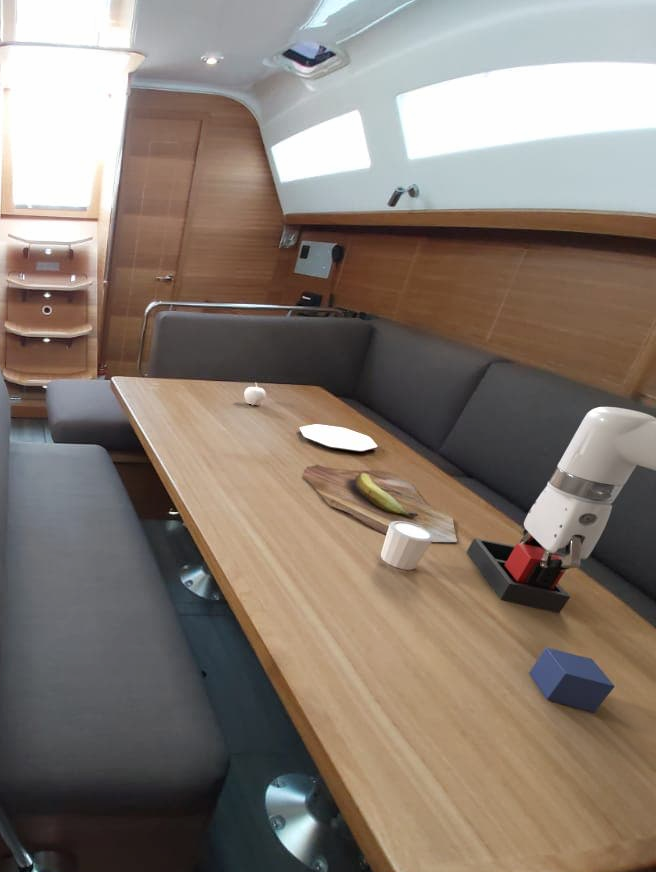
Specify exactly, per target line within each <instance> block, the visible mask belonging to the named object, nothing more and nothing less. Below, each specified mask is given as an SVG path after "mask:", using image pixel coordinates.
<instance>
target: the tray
mask: <svg viewBox="0 0 656 872" xmlns="http://www.w3.org/2000/svg"><path fill="white" fill-rule="evenodd" d="M515 546H516V545H513V544H508V543H503V542H502V543H501V542H497V541H493V540H487V539H482V538H477V537H474V538H473V539H472V541H471V543H470V544H469V547H468V549H467V551H466V553H467V555H468V556H469V558H470V559H471V560H472V562H473V563H474V564H475V566H476V567H477V569H478V570H479V572H480V573H481V574H482V576H483V577H484V579H485V580H486V582H488V584H489V585H490V587H491V588H492V590H493V591H494V592H495V594H496V595H497V596H498V598H499V600H502V601H506V602H509V603H514V604H519V605H524V606H529V607H532V608H538V609H540V610H541V609H542V610H546V611H549V612H553V613H554V612H555V613H561V612H562V610H563V609H564V607H565V606H566V605H567V603H568V601H569V600H570V599H571V595H570V594H569V593H568V592H567V591H566V590H565V589H564V588H563V587H562V586H561V585H560V583H559V582H558V583H557V585H556V586H555V588H554V589H546V588H541V587H537V586H532V585H528V584H527V583H522V582H518V581H516V579H515V578H514V577H513V576H512V574H511V573H510V572H509V571H508V569H507V568H506V567H505V566H504V565H505V563H506V562H507V560H508V558H509V556H510V555H511V553H512V551H513V549H514V548H515Z"/></svg>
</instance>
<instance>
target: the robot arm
mask: <svg viewBox="0 0 656 872" xmlns="http://www.w3.org/2000/svg"><path fill="white" fill-rule="evenodd" d="M637 466H640V467H643V468H646V469H648V470H649V469H650V470H652V471H655V472H656V417H655V416H653V415H650V414H648V413H645V412H641V411H638V410H633V409H628V408H622V407H615V406H599V407H595V408H592V409H591V410H589V411H588V412H587V413H586V414H585V416H584V418H583V419H582V420H581V423H580V425H579V426H578V428H577V430H576V431H575V433H574V435H573V437H572V439H571V440H570V442H569V444H568V446H567V447H566V449H565V451H564V453H563V455H562V457H561V459H560V460H559V462H558V464H557V466H556V467H555V469H554V470H553V472H552V474H551V476H550V478H549V479H548V481H547V483H546V486H545V487H544V488H543V490H542V491H541V492H540V494H539V496H538V497H537V498H536V500H535V502H534V503H533V505H532V506H531V507H530V509H529V511H528V513H527V515H526V517H525V518H524V519H523V526H524V529H523V530H522V533H523V537H522V538H521V539H520V540H519V543H520V544H526V545H531V546H536V547H541V548H545V551H544V554H543V557H542V559H541V562H540V564H536V565H535V566H534V568H533V570H532V571H531V573H530V575H529V576H528V578H527V580H526V583H527V584H528V585H532V586H537V587H541V588H546V589H550V588H551V587H552V586H553V584H554V582H555V581H556V579H557V578H558V576H559V574H560V573H561V572H564V571H565V570H566V571H567V570H569V569H575V568H576V569H577V568H580V566H581V560H586V559H587V558H589V557H590V555H591V554H592V553H593V550H594V548H595V547H596V545H597V543H598V541H599V540H600V538H601V536H602V534H603V532H604V530H605V528H606V526H607V523H608V521H609V518H610V515H611V512H612V509H613V505H612V504H613V503H614V502H615V500H616V498H617V497H618V496H619V494H620V492H621V490H622V489H623V487H624V486H625V484H626V483H627V481H628V480H629V478H630V476H631V475H632V473H633V472H634V471H635V469H636V467H637ZM559 549H560V550H563V551H560V550H559ZM552 555H558V556H559V557H560V559H554V560H551V558H552ZM566 571H565V572H566ZM565 572H564V573H565Z"/></svg>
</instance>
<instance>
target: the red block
mask: <svg viewBox="0 0 656 872" xmlns="http://www.w3.org/2000/svg"><path fill="white" fill-rule="evenodd" d="M514 546H515V548H514V549H513V551H512V553H511V555H510V556H509V558H508V560H507V562H506V563H505V565H504V566H505V567H506V568H507V569H508V571H509V572H510V573H511V574H512V576H513V577H514V578H515V579H516V581H518V582H522V583H526V580H527V578H528V576H529V575H530V573H531V571H532V570H533V568H534V566H535V565H536V564H540V562H541V559H542V557H543V554H544V551H545V548H544V547H543V548H541V547H536V546H531V545H526V544H520V542H517V543H516V544H515V545H514ZM560 557H561V556H558V555H552V558H551V560H554V559H560ZM566 571H567V569H566V570H565V571H564V572H561V573H560V574H559V576H558V578H557V579H556V581H555V582H554V584H553V586H552V587H551V588H550V589H554V588H555V586H556V585H557V583H558V584H559V582H560V580H561V578H562V577H563V575H564V574H565V572H566Z"/></svg>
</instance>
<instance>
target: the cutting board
mask: <svg viewBox="0 0 656 872" xmlns="http://www.w3.org/2000/svg"><path fill="white" fill-rule="evenodd" d="M302 478H304V479H305V480H306V481H307V482H308V483H310V484H311V485H312V487H313V488H314V489H315V490H316V492H317V493H318V494H319V495H320V496H321V498H322V499H323V500H324V501H325V502H326V503H327V505H328V506H330V507H332V508H333V509H334V508H335V509H338V510H340V511H343V512H346V513H348V514H350V515H351V516H352V517H353V518H354V519H356V520H358V521H361V522H362V523H363V524H365V525H366V526H368V527H370V528H373V529H374V530H376V531H378V532H379V533H381V534H383V535H385V536H386V535H387V531H388V528H389V524H390V523H391V522H394V521H402V522H408V523H412V524H415V525H418V526H420V527H423V528H424V529H426V530H428V531H429V532H430V533H432V534H433V536H434V539H433V541H432V542H431V543H458V539H457V535H456V530H455V525H454V518H453V517H452V516H451V515H449V514H447V513H444V512H442V511H440V510H438V509H436V508H433V507H432V506H430V505H429V504H428V503H426V501H424V499H423V498H422V496H421V495H420V493H418V491H417V489H416V488H415V486H414V484H412V483H411V482H409V481H407V480H406V479H405V478H403V477H401V476H399V475H397V474H395V473H393V472H390V471H386V470H379V469H371V470H370V469H369V470H355V469H354V470H352V469H339V468H332V467H327V466H322V465H319V464H315V465H313V466H306V468H305V471H304V473H303V476H302Z"/></svg>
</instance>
